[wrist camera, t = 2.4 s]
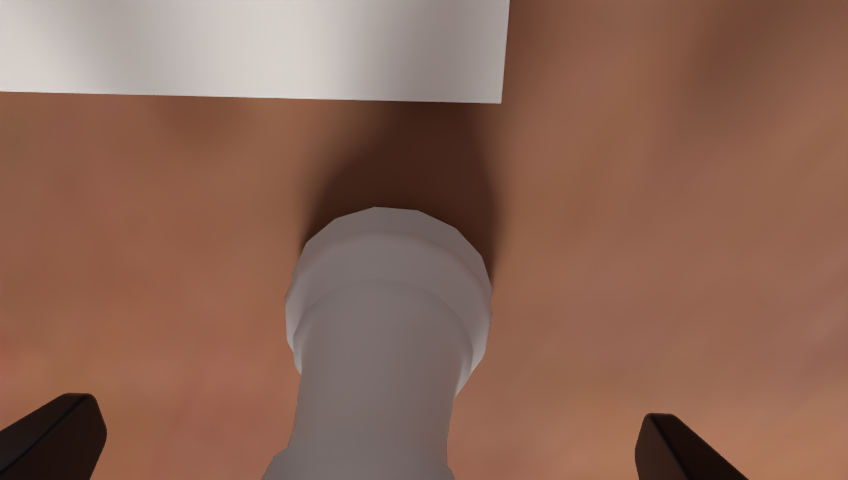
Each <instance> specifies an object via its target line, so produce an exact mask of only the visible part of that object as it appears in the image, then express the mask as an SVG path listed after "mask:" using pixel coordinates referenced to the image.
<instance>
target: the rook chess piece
mask: <svg viewBox="0 0 848 480" xmlns="http://www.w3.org/2000/svg"><path fill="white" fill-rule="evenodd" d="M292 278H293V281H292V283H291V285H290V287H289V289H288V292H287V294H286V296H285V311H286V328H287V342H288V344H289V345H290V347H291V349H292V351H293V352H294V364H295V366H296V368H297V370H298V371H299V373H300V375H301V377H300V385H299V392H298V399H297V406H296V413H295V421H294V427H293V430H292V433H291V436H290V440H289V443H288V446H287V448H286V449H284V450H283V451H281V452H280V453H278V454H277V455H275V456H274V457H273V459H272V461H271V463H270V465H269V466H268V468H267V470H266V472H265V474H264V476H263V478H262V479H261V480H455V478H454V476H453V474H452V471H451V469H449V468H448V467H447V438H448V432H449V426H450V419H451V413H452V407H453V402H454V399H455V397H456V396H457V394H458V393H459V392H460V390H461V389H462V387H463V386H464V385H465V383H466V382H467V380H468V379H469V378H470V374H471V373H472V372H473V370H474V369H475V367H476V366H477V365H478V363H479V362H480V361H481V359H482V358H483V356H484V353H485V350H486V347H487V342H488V336H489V330H490V324H491V318H492V311H491V308H490V300H491V294H492V287H491V284H490V281H489V278H488V274H487V271H486V268H485V265H484V262H483V259H482V256H481V255H480V254H479V253H478V252H477V251H476V250H475V248H474V247H473V246H472V245H471V244H470V243H469V242H468V241H467V240H466V239H465V238H464V237H463V235H462V234H461V233H460V232H459V231H458V230H457V229H456V228H454V227H452V226H450V225H448V224H446V223H444V222H442V221H440V220H437V219H435V218H433V217H431V216H429V215H427V214H425V213H423V212H420V211H418V210H408V209H396V208H383V207H373V208H369V209H366V210H363V211H359V212H356V213H352V214H349V215H345V216H342V217H339V218H335V219H334V220H333V221H332V222H331V223H329V224H328V225H327V226H326V227H324V228H323V229H322V230H321V231H320V232H318V233H317V234H316V235H315V236H314V237H312V238H311V239H310V240H309V241H307V242H306V244H305V247H304V249H303V251H302V253H301V255H300V258H299V260H298V262H297V264H296V266H295V269H294V271H293V273H292Z"/></svg>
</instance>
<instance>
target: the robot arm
mask: <svg viewBox="0 0 848 480" xmlns="http://www.w3.org/2000/svg"><path fill="white" fill-rule="evenodd" d="M106 438H107V429H106V425H105V423H104V420H103V417H102V414H101V412H100V409H99V406H98V403H97V400H96V398H95V397H94V396H93V395H92V394H88V393H66V394H63V395H61V396H59V397H57V398H56V399H54V400H52V401H50V402H49V403H47V404H45V405H44V406H42V407H40V408H39V409H37V410H35V411H34V412H32V413H30V414H29V415H27V416H25V417H23V418H22V419H20V420H18V421H17V422H15V423H13V424H12V425H10V426H8V427H7V428H5V429H3V430H2V431H0V480H90V478H91V475H92V473H93V471H94V468H95V466H96V464H97V461H98V459H99V457H100V454H101V452H102V450H103V448H104V445H105V442H106ZM635 463H636V467H637V472H638V476H639V480H749V479H747V478H746V477H745V476H744V475H743V474H742V473H740V472H739V471H738V470H737V469H736V468H735V467H734V466H732V465H731V464H730V463H729V462H728V461H727V460H726V459H724V458H723V457H722V456H721V455H720V454H719V453H718V452H716V451H715V450H714V449H713V448H712V447H711V446H710V445H708V444H707V443H706V442H705V441H704V440H703V439H702V438H700V437H699V436H698V435H697V434H696V433H695V432H694V431H692V430H691V429H690V428H689V427H688V426H687V425H685V424H684V423H683V422H682V421H681V420H680V419H679V418H677V417H676V416H674V415H672V414H664V413H649V414H647V415H646V416H645V417H644V420H643V423H642V426H641V430H640V433H639V437H638V440H637V443H636V447H635Z"/></svg>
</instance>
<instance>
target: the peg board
mask: <svg viewBox="0 0 848 480" xmlns="http://www.w3.org/2000/svg"><path fill="white" fill-rule="evenodd" d="M509 4H510V0H0V91H12V92H53V93H94V94H135V95H177V96H218V97H259V98H300V99H341V100H382V101H423V102H464V103H501V99H502V87H503V75H504V63H505V51H506V39H507V27H508V16H509Z"/></svg>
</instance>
